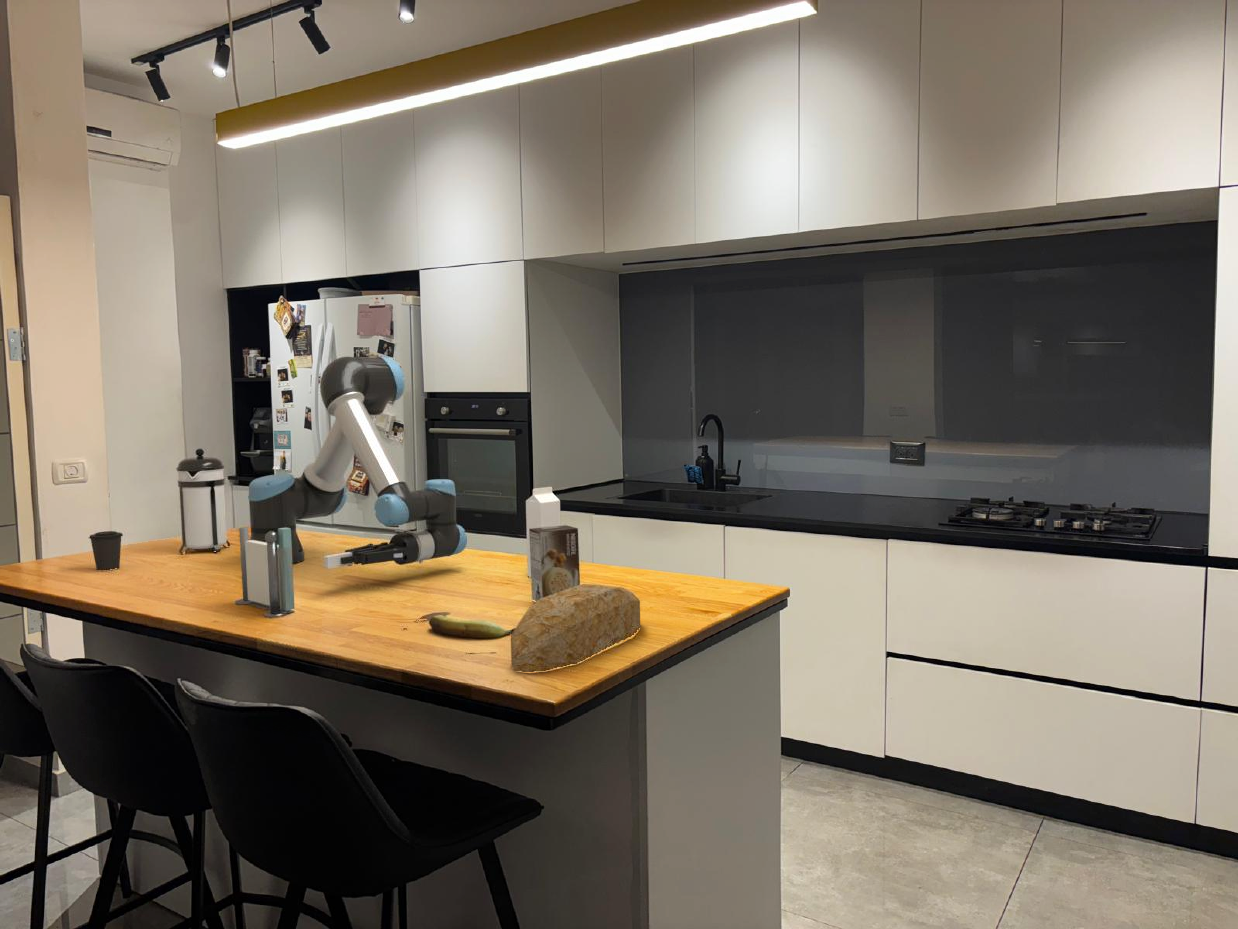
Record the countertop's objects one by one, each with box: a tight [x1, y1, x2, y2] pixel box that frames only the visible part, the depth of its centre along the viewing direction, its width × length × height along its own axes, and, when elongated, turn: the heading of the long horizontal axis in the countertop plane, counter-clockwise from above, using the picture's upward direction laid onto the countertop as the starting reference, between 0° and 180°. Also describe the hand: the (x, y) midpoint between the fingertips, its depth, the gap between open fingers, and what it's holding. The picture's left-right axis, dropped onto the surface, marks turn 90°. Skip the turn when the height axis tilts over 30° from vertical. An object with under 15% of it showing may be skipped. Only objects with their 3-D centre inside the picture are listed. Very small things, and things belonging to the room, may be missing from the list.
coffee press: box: [175, 448, 231, 554], centre depth 278 cm, size 17×16×30 cm
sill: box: [234, 598, 295, 615], centre depth 205 cm, size 20×5×1 cm, turn 50°
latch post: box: [263, 531, 288, 618], centre depth 197 cm, size 4×4×18 cm
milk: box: [525, 486, 561, 578], centre depth 231 cm, size 6×6×22 cm
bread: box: [510, 583, 641, 672], centre depth 170 cm, size 36×11×10 cm, turn 149°
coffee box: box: [529, 524, 581, 601], centre depth 205 cm, size 9×6×16 cm
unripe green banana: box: [402, 611, 516, 655], centre depth 180 cm, size 35×27×4 cm
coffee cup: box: [88, 530, 124, 571], centre depth 251 cm, size 8×8×10 cm
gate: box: [238, 526, 296, 610], centre depth 203 cm, size 19×2×17 cm, turn 49°
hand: (325, 562), depth 213 cm, fingers closed
